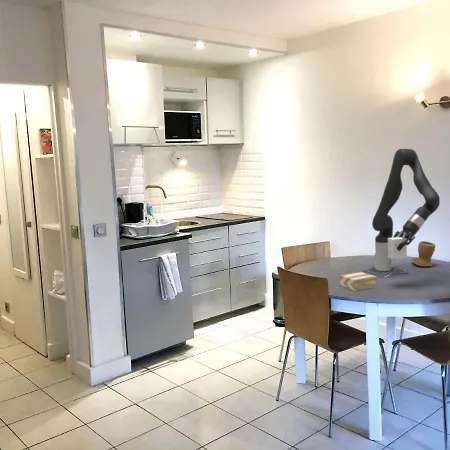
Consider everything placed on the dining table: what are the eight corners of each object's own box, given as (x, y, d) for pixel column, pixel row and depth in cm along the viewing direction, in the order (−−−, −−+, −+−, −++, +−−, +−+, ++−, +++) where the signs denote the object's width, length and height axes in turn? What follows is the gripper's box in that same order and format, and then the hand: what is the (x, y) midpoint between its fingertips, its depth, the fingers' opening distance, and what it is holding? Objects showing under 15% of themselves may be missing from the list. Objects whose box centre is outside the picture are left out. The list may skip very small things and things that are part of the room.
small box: (401, 256, 272) (401, 236, 270) (407, 257, 266) (406, 238, 265) (387, 257, 270) (387, 237, 269) (392, 259, 265) (392, 239, 264)
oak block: (339, 285, 277) (339, 275, 276) (361, 282, 282) (360, 272, 281) (355, 291, 264) (355, 280, 263) (377, 287, 269) (377, 276, 268)
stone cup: (438, 267, 308) (438, 243, 306) (418, 268, 308) (418, 243, 306) (429, 262, 323) (429, 239, 321) (410, 263, 323) (410, 239, 321)
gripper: (401, 218, 275) (382, 242, 273) (418, 221, 261) (398, 246, 259) (409, 227, 277) (390, 251, 275) (426, 230, 263) (407, 255, 261)
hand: (394, 248), depth 267 cm, fingers closed on small box, 6 cm apart
